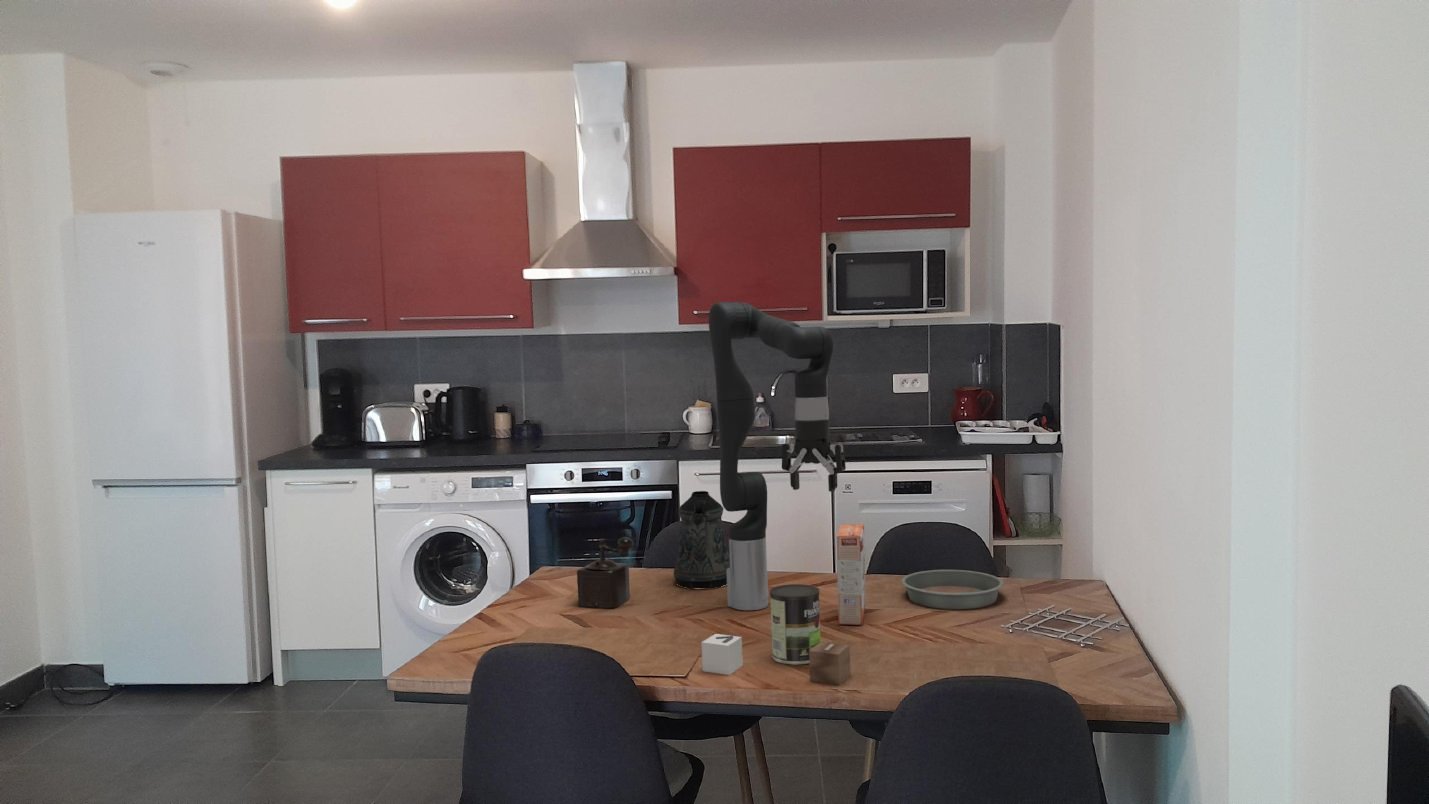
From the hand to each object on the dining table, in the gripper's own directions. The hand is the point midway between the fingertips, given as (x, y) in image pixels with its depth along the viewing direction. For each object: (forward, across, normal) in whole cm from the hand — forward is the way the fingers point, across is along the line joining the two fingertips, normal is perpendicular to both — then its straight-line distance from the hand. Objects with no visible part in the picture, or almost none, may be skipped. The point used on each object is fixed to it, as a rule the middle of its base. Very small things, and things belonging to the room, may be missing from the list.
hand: (814, 490), depth 216 cm
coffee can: (+32, +2, -17) cm, 37 cm away
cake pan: (+33, +20, +39) cm, 55 cm away
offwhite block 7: (+32, -9, -29) cm, 44 cm away
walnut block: (+32, +13, -26) cm, 43 cm away
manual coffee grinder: (+32, -58, +4) cm, 67 cm away
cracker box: (+32, +3, +14) cm, 35 cm away
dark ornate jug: (+32, -45, +30) cm, 63 cm away
